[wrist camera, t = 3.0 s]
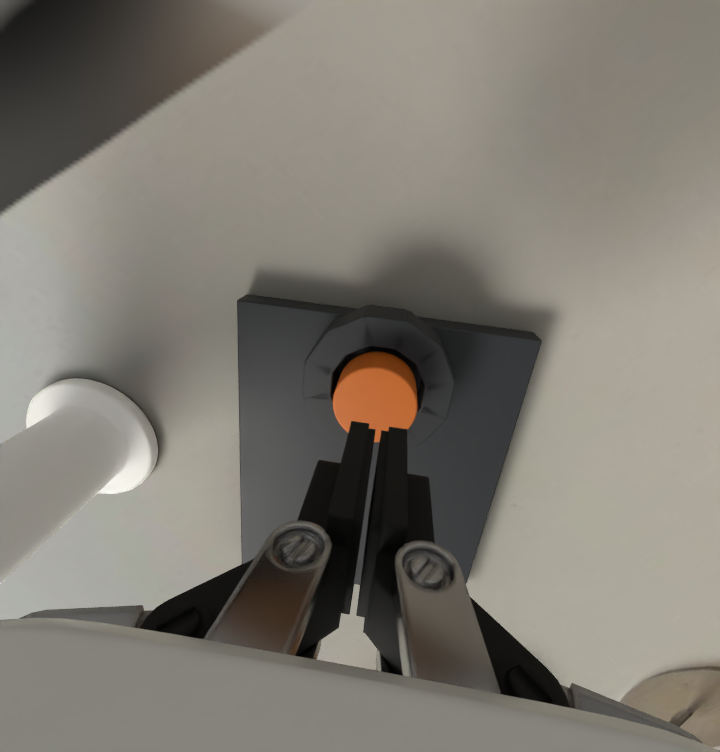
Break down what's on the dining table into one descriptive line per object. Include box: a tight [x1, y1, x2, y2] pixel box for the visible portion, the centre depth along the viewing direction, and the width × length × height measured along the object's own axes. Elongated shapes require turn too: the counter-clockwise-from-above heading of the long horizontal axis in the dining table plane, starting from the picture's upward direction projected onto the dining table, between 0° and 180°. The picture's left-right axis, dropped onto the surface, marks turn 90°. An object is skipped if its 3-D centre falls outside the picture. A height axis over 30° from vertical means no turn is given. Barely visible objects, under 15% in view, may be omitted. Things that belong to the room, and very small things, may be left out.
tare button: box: [333, 351, 418, 442], centre depth 16 cm, size 3×3×2 cm
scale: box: [237, 295, 541, 585], centre depth 20 cm, size 17×13×3 cm
